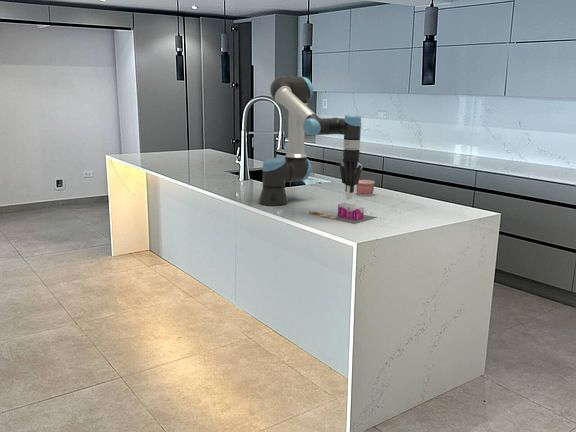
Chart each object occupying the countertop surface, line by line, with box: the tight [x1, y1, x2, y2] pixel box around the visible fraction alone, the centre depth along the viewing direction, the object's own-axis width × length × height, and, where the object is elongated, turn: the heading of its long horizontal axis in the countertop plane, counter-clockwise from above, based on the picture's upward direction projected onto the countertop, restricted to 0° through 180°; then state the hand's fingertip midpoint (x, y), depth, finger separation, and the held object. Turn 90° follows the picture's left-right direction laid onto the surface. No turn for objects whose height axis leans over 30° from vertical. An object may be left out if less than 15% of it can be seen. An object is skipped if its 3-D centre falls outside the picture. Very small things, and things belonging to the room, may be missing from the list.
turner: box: [308, 210, 338, 220], centre depth 264 cm, size 16×3×1 cm, turn 48°
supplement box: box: [337, 202, 365, 220], centre depth 261 cm, size 6×6×12 cm
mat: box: [332, 214, 378, 225], centre depth 261 cm, size 13×18×1 cm
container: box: [355, 179, 376, 197], centre depth 318 cm, size 10×10×8 cm
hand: (349, 199), depth 261 cm, fingers closed
